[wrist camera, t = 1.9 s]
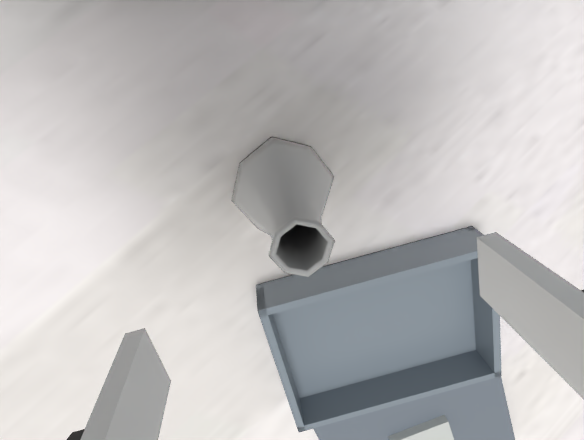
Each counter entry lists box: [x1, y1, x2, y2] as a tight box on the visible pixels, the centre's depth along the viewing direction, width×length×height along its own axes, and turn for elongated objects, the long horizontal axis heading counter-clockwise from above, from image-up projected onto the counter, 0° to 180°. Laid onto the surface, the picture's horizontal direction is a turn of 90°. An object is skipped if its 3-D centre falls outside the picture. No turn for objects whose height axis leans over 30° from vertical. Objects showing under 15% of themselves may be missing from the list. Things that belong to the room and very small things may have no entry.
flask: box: [232, 137, 335, 277], centre depth 24 cm, size 7×7×10 cm
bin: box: [256, 226, 501, 432], centre depth 33 cm, size 13×18×4 cm
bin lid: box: [313, 376, 515, 440], centre depth 40 cm, size 14×19×2 cm
